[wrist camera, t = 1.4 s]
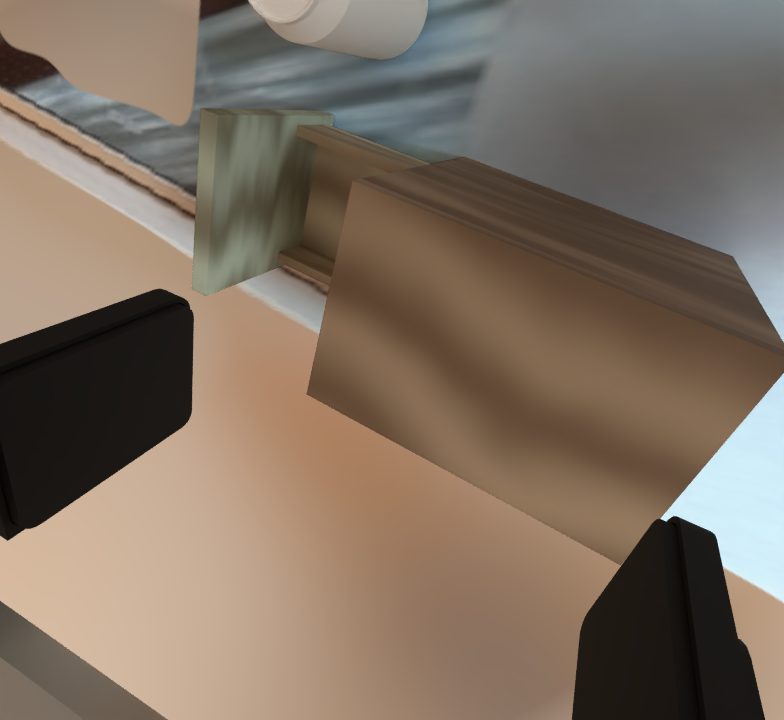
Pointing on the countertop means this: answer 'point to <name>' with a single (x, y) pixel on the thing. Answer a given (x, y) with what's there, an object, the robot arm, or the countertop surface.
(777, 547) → the countertop surface
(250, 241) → the green-fronted drawer
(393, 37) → the beverage can
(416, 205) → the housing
